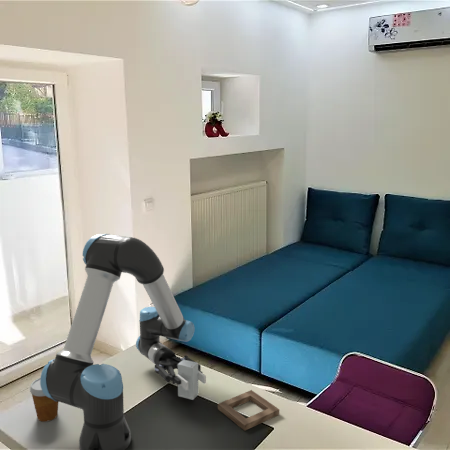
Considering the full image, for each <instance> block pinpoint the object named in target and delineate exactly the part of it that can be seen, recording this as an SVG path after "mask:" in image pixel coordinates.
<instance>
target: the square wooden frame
mask: <svg viewBox="0 0 450 450" xmlns="http://www.w3.org/2000/svg"><path fill="white" fill-rule="evenodd" d="M249 402H251V403H253V404H254V405H256V406H257V407H258V408H259V409H260V410H261V409H262V411H259V412H257V413H256V414H253V415H251V416H249V417H245V416H243V415H242V414H241V413H239V412H238V411H237V410H236V409H234V408H237V407H239V406H240V405H243V404H246V403H249ZM217 410H218V411H219V412H220V413H222V414H223V415H225V416H226V417H227V418H228V419H229V420H231V421H232V422H233V423H234V424H236V425H237V426H238V427H239V428H240V429H242V430H243V431H247V430H249V429H252V428H253V427H256V426H258V425H261V424H263V423H265V422H267V421H268V420H271V419H273V418H275V417H278V416H279V415H280V409H279V408H278V407H277V406H275V405H273V404H272V403H271V402H269V401H268V400H266V399H265V398H264V397H262V396H261V395H259V394H258V393H256V392H255V391H254V390H252V389H251V390H250V389H249V390H248V391H245V392H244V393H240V394H238V395H236V396H233V397H230V398H229V399H225V400H224V401H221V402H219V403H217Z"/></svg>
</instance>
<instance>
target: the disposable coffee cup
mask: <svg viewBox="0 0 450 450" xmlns="http://www.w3.org/2000/svg"><path fill="white" fill-rule="evenodd" d="M40 378H41V377H39V378H37V379H34V380H33V381H32V382H31V384H30V387H29V392H30V394H31V397H32V401H33V404H34V409H35V413H36V418H37V420H38V421H40V422H42V423H43V422H51V421H53V420H54V419H56V418H57V417H58V415H59V412H58V411H59V402H57V401H54V400H53V399H51V398H48V397H47V396H46V395H44V393H43V391H42V389H41V385H40Z"/></svg>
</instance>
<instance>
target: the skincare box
mask: <svg viewBox="0 0 450 450" xmlns="http://www.w3.org/2000/svg"><path fill="white" fill-rule="evenodd" d="M198 364H199V362H196V361H195V362H192V361H188V360H182V361H181V362H180V363H179V364H178V369H177V374H179V375H180V376H181V377H183V378H184V379H185V380H186V381H188V390H186V389H184V388H183V387H182V386H181V385H178V384H177V396H178V397H180V398H184V399H188V400H192V401H194V400H195V398H196V397H198V395H199V380H198Z"/></svg>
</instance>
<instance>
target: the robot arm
mask: <svg viewBox="0 0 450 450" xmlns="http://www.w3.org/2000/svg"><path fill="white" fill-rule="evenodd" d="M82 260H83V263H84V264H85V267H84V270H85V272H86V274H87V276H86V281H85V283H84V286H83V290H82V291H81V294H80V297H79V301H78V305H77V307H76V309H75V310H76V311H75V312H74V313H75V314H74V316H73V320H72V322H71V326H70V329H69V330H68V335H67V338H66V341H65V343H64V347H63V349H62V350H59V351H58V352H57V353H56V355H55V358H53V359H50V360H49V361H48V362H47V364H45V365H44V366H43V368H42V370H41V374H40V377H39V378H40V385H41V389H42V391H43V393H44V395H46V396H47V397H48V398H51V399H53V400H54V401H57V402H58V403H59V402H60V403H62V404H65V405H68V406H71V407H74V408H77V409H80V410H82V411H83V425H82V428H81V432H80V435H79V438H78V442H79V443H78V444H79V450H127V448H128V447H129V446H130V444H131V441H132V436H131V435H132V434H131V429H130V427H129V424H128V422H127V420H126V418H125V412H124V411H125V410H124V383H123V376H122V373H121V371H120V370H119V369H118V368H117V367H115V366H113V365H110V364H106V363H101V364H99V363H97V364H96V363H95V364H94V360H93V358H92V353H93V350H94V346H95V343H96V340H97V336H98V334H99V330H100V328H101V327H100V326H101V323H102V321H103V317H104V315H105V311H106V308H107V306H108V305H107V304H108V301H109V298H110V295H111V292H112V289H113V286H114V284H115V282H117V281H119V280H120V279H121V276H122V273H123V274H124V273H126V274H129V275H132V276H133V277H134V278H135V279H136V281H137V282H138V283H139V284H141V285H142V286H143V288H144V289H145V291H146V293H147V295H148V297H149V299H150V300H151V303H152V305H153V306H146V307H143V308H142V309H141V310H140V311H139V321H138V322H139V336H138V337H137V339H136V341H135V347H136V349H137V351H138V352H139V353H140V354H141V355H143V356H144V357H145V358H147V360H148V361H149V360H150V361H151V362H152V363H153V364H154V373H156V374H157V375H159V376H160V377H161V378H162V379H163V380H164V381H165V383H167V384H169V383H170V382H172V383H171V384H172V385H176V384H177V386H178V385H181V386H182V387H183V388H184V389H186V390H188V381H186V380H185V379H184V378H183V377H181V376H180V375H179V374H178V373H177V374H176V372H175V370H178V364H179V363H180V362H181V361H182V360H188V361H192V362H196V361H194V360H193V359H192V358H189V356H188V355H186V354H185V355H183V357H180V356H177V354H176V353H175V352H174V351H173V350H172V349H171V348H169V347H168V346H167V345H164V344H163V343H162V341H161V340H160V339H161V338H160V337H164V338H167V339H172V340H177V341H178V342H180V341H181V342H189V341H191V340H192V338H193V336H194V333H195V325H194V323H193V321H190V320H187V319H185V318H184V316H183V313H182V311H181V308H180V307H179V305H178V303H177V301H176V299H175V297H174V295H173V292H172V289H171V288H170V286H169V284H168V281H167V280H166V277H165V275H164V272H165V269H164V265H163V264H162V261H161V260H160V258H159V257H158V255H157V253H155V252H154V250H153V249H152V248H151V247H150V246H149V245H148V244H146V242H144V241H143V240H141V239H139V238H136V237H131V236H123V235H119V234H118V235H117V234H116V235H115V234H110V233H98V234H95V235H93V236H91V237H90V238H89V239H88V240H87V241H86V243H85V244H84V246H83V250H82ZM201 366H202V365H201V364H200V363H198V381H200V383H202V384H203V385H205V384H206V383H207V375H205V374H204V372H203V371H202V369H201V368H202V367H201Z"/></svg>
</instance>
